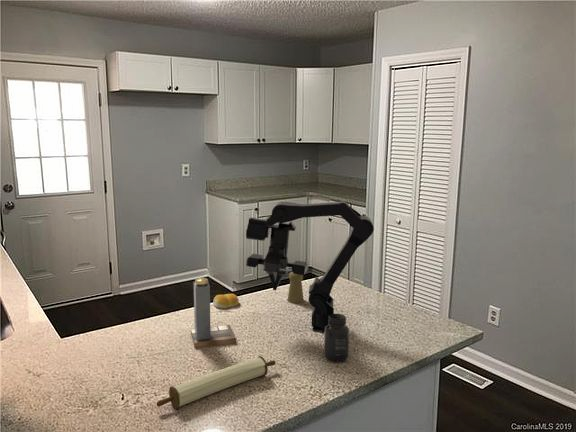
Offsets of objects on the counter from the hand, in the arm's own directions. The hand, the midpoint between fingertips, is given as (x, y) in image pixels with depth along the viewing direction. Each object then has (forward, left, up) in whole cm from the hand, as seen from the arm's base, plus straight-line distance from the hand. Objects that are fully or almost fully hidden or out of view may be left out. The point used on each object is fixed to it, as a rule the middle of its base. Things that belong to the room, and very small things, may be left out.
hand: (274, 289), depth 150 cm
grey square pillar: (+19, +14, -10) cm, 26 cm away
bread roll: (+20, -14, -12) cm, 28 cm away
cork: (-4, -23, -12) cm, 26 cm away
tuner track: (+17, +13, -12) cm, 24 cm away
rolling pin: (+6, +40, -12) cm, 42 cm away
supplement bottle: (-21, +18, -12) cm, 30 cm away
